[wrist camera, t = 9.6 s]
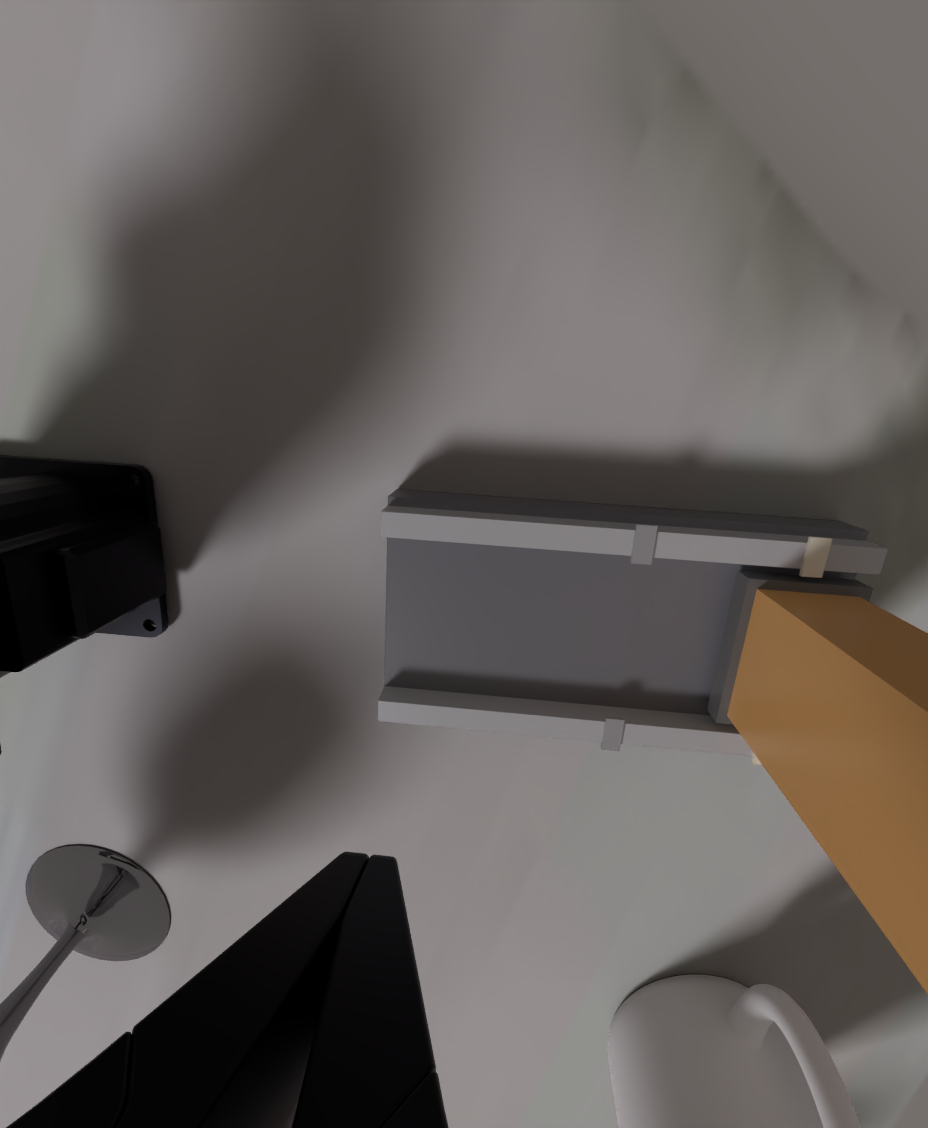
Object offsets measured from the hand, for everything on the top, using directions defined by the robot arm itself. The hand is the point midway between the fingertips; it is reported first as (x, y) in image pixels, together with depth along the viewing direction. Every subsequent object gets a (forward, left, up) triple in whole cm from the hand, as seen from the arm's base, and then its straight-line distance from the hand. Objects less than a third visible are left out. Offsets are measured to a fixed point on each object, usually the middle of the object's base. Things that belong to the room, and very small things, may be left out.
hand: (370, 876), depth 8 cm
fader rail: (+5, 0, -12) cm, 13 cm away
